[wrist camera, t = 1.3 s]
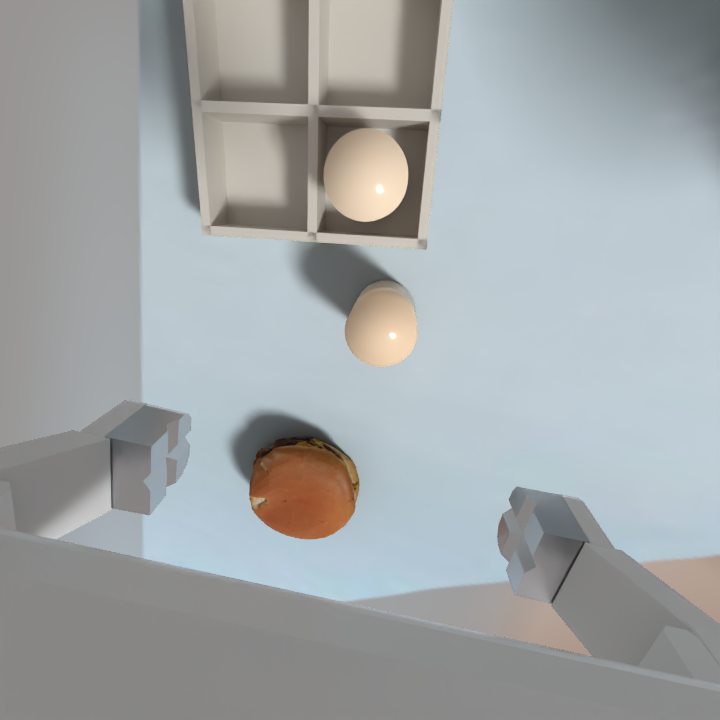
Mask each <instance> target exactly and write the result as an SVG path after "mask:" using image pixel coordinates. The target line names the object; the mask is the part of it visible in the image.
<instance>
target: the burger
mask: <svg viewBox="0 0 720 720" xmlns="http://www.w3.org/2000/svg"><path fill="white" fill-rule="evenodd" d="M358 491H359V478H358V474H357V471H356V467H355V465H354V463H353V462H352V461H351V460H350V459H349V458H348V457H347V456H346V455H344V454H343V453H342V452H340V451H339V450H337V449H336V448H334V447H332V446H330V445H329V444H327V443H324V442H321V441H319V440H317V439H315V438H313V437H303V438H295V437H294V438H292V439H279V440H276V441H275V443H274V445H272V446H271V447H270V448H269V449H268V450H266V448H262V449H261V450H260V451H258V453H257V455H256V460H255V461H254V467H253V474H252V478H251V481H250V492H249V495H250V501H251V506H252V509H253V511H254V513H255V514H256V515H257V516H258V517H259V518H260V519H261V520H262V521H263V522H264V523H265V524H266V525H267V526H269V527H271V528H272V529H274V530H275V531H278V532H280V533H282V534H285V535H287V536H291V537H295V538H300V539H318V538H324V537H327V536H329V535H332V534H334V533H335V532H337V531H338V530H339V529H341V528H342V527H344V525H345V524H346V523H347V522H348V521H349V519H350V518H351V516H352V515H353V513H354V511H355V502H356V499H357V496H358Z"/></svg>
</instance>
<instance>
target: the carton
mask: <svg viewBox="0 0 720 720" xmlns="http://www.w3.org/2000/svg"><path fill="white" fill-rule="evenodd" d="M453 1H454V0H183V12H184V23H185V35H186V47H187V59H188V71H189V82H190V94H191V106H192V118H193V130H194V141H195V153H196V165H197V177H198V189H199V200H200V212H201V224H202V235H213V236H228V237H243V238H259V239H274V240H289V241H305V242H320V243H335V244H351V245H366V246H381V247H397V248H412V249H426V247H427V238H428V229H429V220H430V211H431V202H432V193H433V183H434V174H435V165H436V156H437V147H438V138H439V129H440V120H441V111H442V102H443V92H444V83H445V74H446V65H447V56H448V47H449V38H450V29H451V20H452V10H453ZM362 128H370V129H376V130H380V131H382V132H384V133H386V134H387V135H389V136H390V137H392V138H393V139H394V140H395V141H396V142H397V143H398V145H399V146H400V148H401V149H402V151H403V153H404V155H405V158H406V161H407V165H408V184H407V190H406V194H405V196H404V199H403V200H402V202H401V204H400V205H399V206H398V208H397V209H396V210H395V211H393V212H392V213H391V214H389V215H387V216H385V217H383V218H381V219H378V220H375V221H369V222H362V221H356V220H352V219H350V218H348V217H346V216H344V215H343V214H342V213H340V212H339V211H338V210H337V209H336V208H335V207H334V205H333V204H332V203H331V201H330V199H329V197H328V195H327V193H326V189H325V185H324V166H325V162H326V158H327V156H328V154H329V152H330V150H331V148H332V147H333V145H334V144H335V143H336V142H337V141H338V140H339V139H340V138H341V137H342V136H344V135H345V134H347V133H349V132H351V131H354V130H357V129H362Z"/></svg>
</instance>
